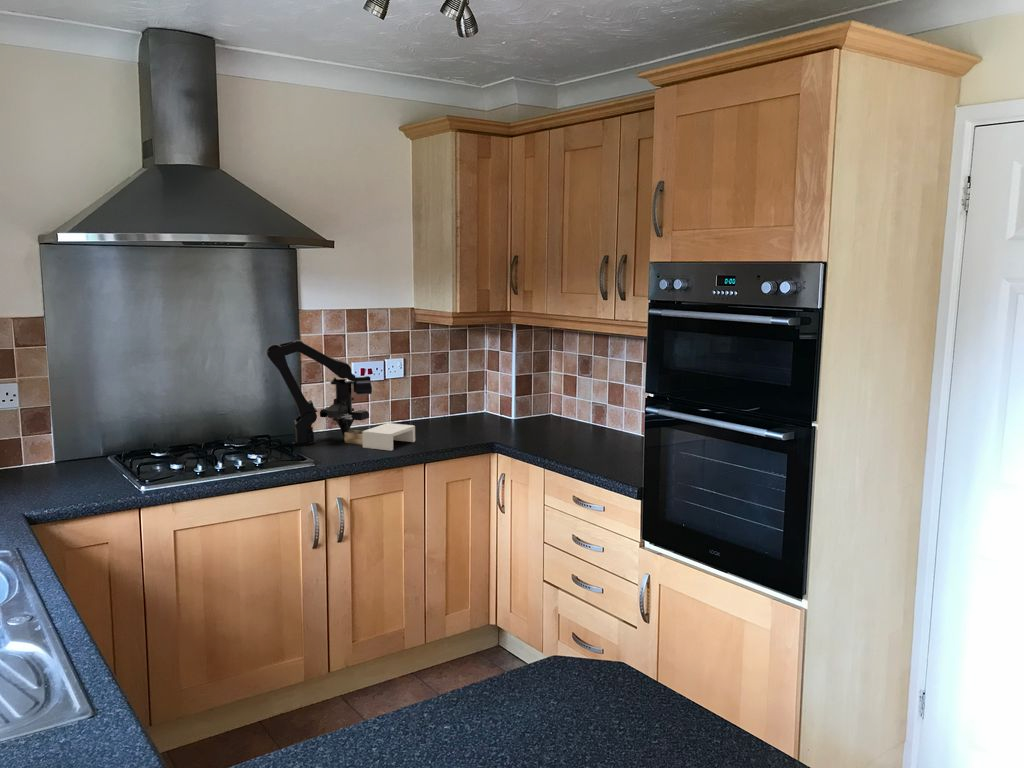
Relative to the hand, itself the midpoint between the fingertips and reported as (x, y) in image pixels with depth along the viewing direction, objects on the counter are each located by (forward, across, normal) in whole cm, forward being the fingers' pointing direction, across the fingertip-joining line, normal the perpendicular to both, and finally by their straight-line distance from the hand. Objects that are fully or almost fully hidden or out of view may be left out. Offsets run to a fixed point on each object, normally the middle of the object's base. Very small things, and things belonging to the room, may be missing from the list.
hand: (345, 436), depth 314 cm
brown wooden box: (+2, +7, 0) cm, 7 cm away
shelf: (+2, +19, +1) cm, 19 cm away
